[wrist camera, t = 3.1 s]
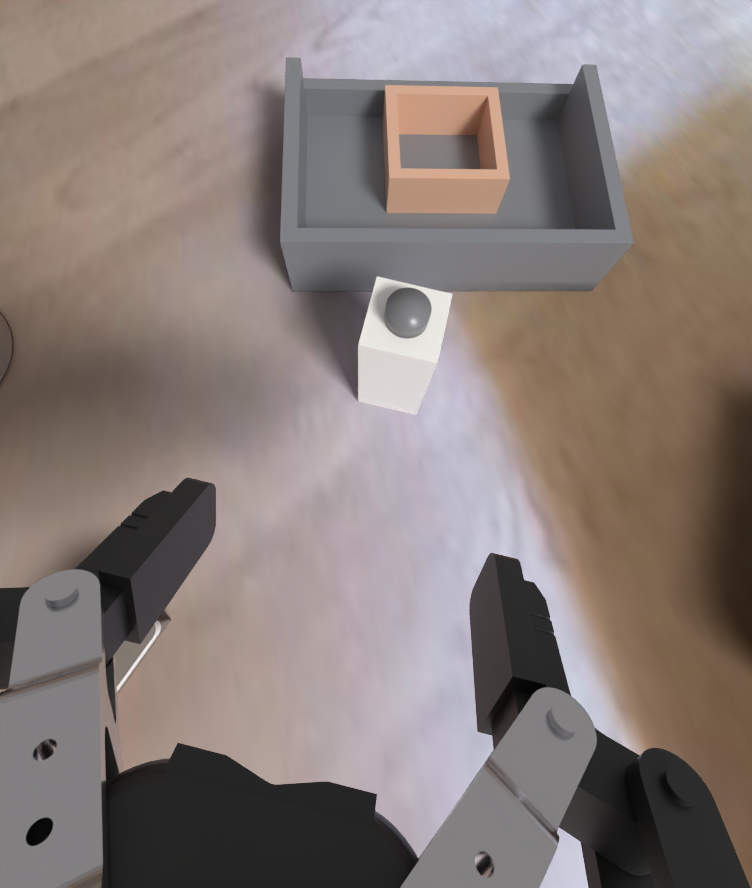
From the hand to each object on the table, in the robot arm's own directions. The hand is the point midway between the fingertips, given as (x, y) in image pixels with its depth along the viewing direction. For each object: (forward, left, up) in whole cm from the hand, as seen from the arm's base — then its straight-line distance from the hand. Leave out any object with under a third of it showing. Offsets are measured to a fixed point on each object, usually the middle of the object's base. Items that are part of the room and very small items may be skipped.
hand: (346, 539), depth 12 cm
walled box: (+7, +26, -14) cm, 30 cm away
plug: (+3, +11, -14) cm, 18 cm away
